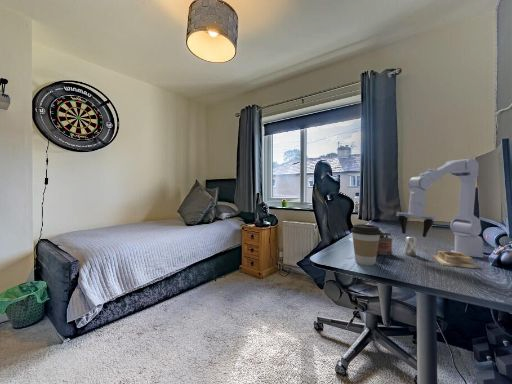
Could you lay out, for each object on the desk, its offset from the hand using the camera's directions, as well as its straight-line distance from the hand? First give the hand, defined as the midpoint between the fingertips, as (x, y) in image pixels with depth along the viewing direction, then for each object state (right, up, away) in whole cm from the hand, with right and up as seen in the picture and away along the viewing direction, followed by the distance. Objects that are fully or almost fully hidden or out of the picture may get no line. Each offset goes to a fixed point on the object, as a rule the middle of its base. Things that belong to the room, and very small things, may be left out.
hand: (413, 235), depth 103 cm
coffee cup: (-24, -10, -6) cm, 27 cm away
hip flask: (-10, -10, +8) cm, 16 cm away
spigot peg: (+2, -10, +6) cm, 12 cm away
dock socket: (+14, -10, -4) cm, 18 cm away
